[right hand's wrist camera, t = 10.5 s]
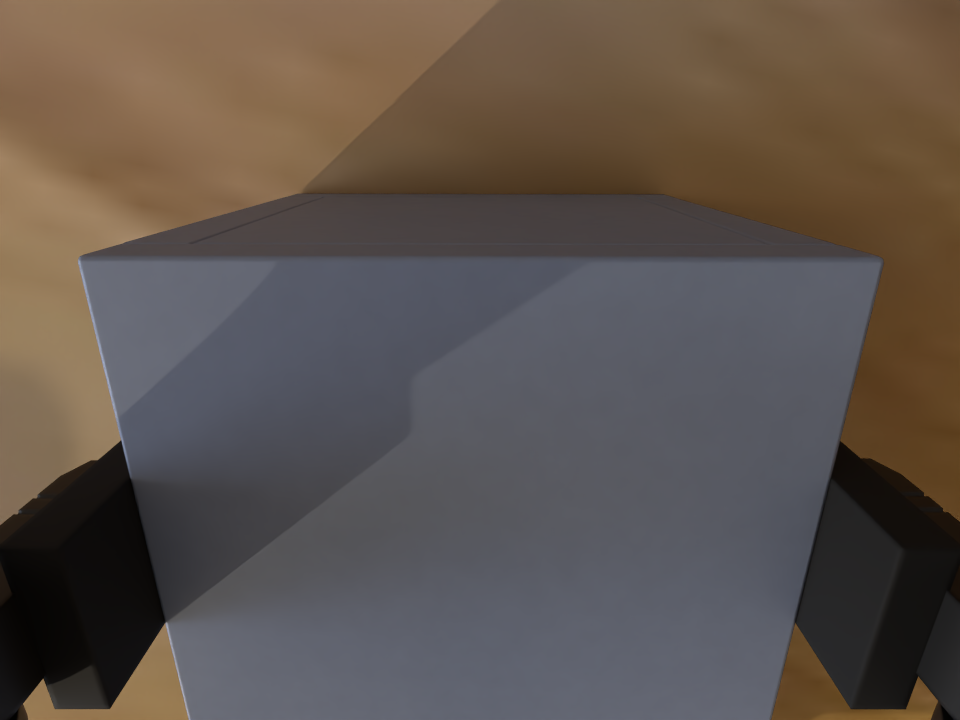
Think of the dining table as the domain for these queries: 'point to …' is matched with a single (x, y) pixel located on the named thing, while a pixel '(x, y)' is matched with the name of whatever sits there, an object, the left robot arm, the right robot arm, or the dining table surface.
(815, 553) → the right robot arm
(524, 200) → the cabinet
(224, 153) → the dining table surface
